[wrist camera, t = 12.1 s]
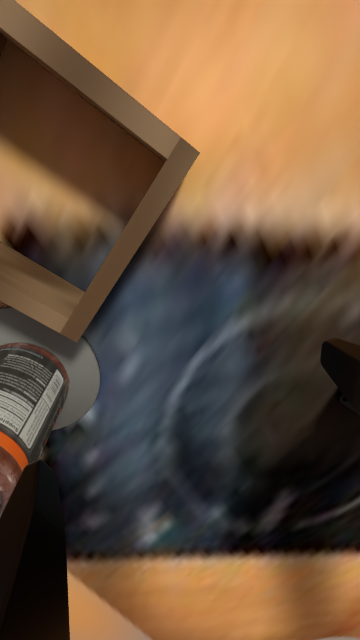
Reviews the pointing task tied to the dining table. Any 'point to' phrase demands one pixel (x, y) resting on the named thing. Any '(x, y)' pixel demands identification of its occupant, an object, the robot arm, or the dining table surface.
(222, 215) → the dining table surface
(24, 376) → the supplement bottle
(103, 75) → the walnut box
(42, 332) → the rubber mat
